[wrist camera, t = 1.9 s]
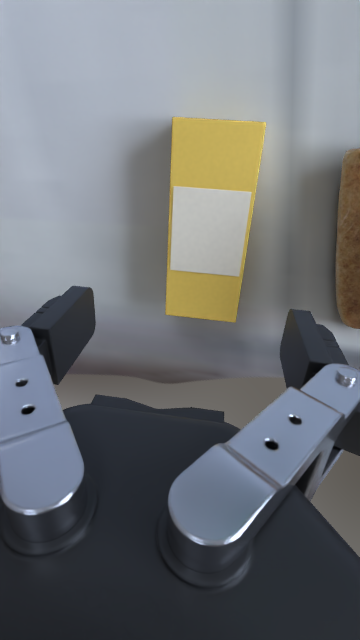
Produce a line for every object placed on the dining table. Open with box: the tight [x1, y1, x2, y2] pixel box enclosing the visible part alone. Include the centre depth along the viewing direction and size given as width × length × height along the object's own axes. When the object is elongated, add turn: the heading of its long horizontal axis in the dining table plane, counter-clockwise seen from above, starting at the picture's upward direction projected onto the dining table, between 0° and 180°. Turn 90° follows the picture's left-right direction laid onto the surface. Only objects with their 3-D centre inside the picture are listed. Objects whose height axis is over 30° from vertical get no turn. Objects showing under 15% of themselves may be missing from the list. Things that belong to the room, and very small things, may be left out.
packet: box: [165, 117, 266, 323], centre depth 27 cm, size 15×6×4 cm, turn 177°
